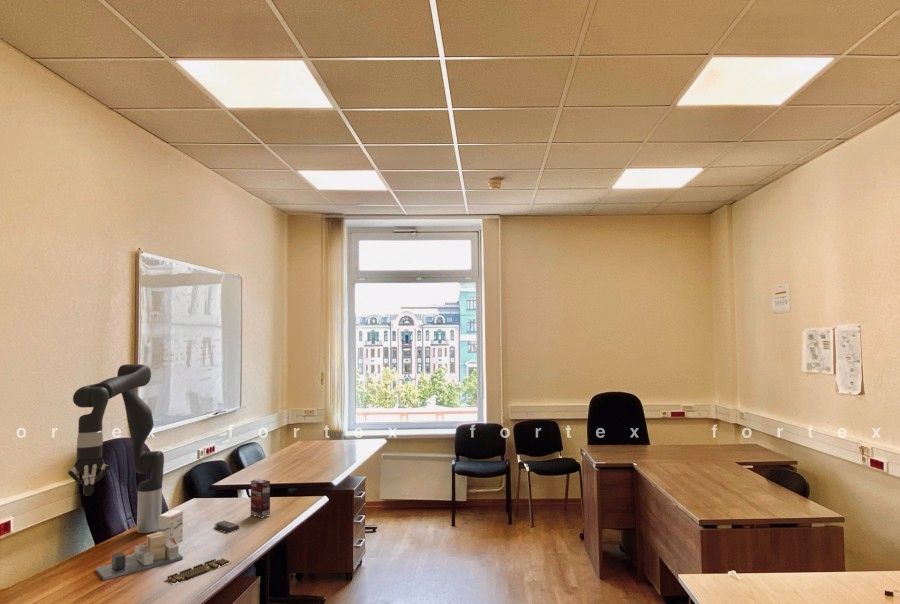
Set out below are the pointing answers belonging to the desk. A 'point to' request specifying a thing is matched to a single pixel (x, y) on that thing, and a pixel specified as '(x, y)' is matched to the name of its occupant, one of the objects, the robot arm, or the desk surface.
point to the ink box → (172, 525)
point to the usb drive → (226, 526)
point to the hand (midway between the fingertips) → (88, 495)
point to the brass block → (157, 544)
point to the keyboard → (196, 570)
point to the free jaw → (133, 557)
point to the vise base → (135, 565)
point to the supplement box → (260, 497)
